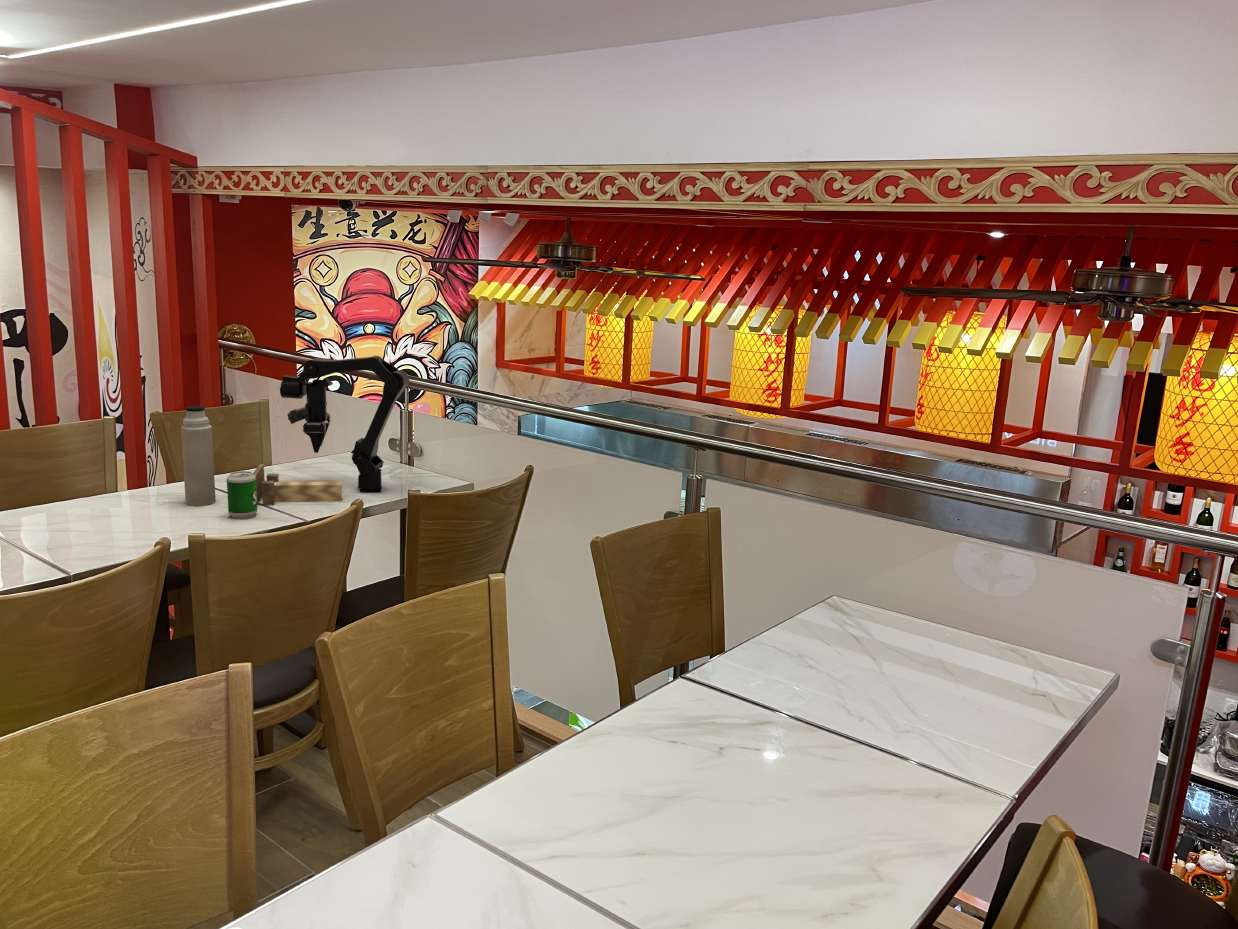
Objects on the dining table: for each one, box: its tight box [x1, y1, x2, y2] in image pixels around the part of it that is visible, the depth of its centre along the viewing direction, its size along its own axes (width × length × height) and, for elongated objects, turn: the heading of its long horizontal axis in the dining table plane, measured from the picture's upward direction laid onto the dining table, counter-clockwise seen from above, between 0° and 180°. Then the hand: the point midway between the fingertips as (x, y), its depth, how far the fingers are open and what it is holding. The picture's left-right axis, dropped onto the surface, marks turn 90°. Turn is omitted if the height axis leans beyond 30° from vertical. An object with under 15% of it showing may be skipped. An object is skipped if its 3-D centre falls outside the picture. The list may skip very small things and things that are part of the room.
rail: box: [274, 481, 343, 503], centre depth 280 cm, size 21×4×5 cm, turn 101°
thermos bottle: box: [180, 405, 217, 507], centre depth 270 cm, size 8×8×28 cm
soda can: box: [226, 470, 258, 519], centre depth 261 cm, size 8×8×12 cm
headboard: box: [252, 463, 280, 506], centre depth 278 cm, size 6×16×9 cm, turn 11°
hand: (317, 449), depth 293 cm, fingers open, 9 cm apart
